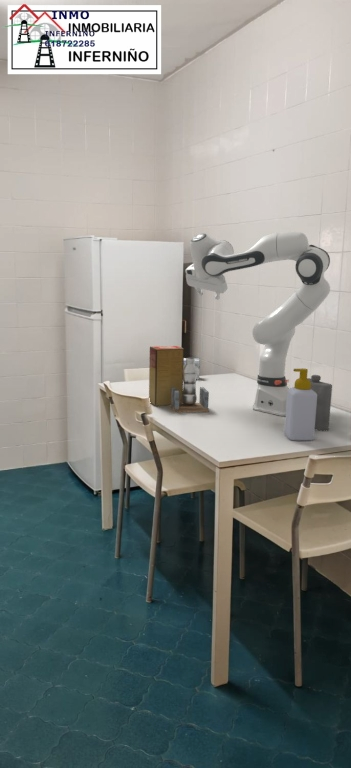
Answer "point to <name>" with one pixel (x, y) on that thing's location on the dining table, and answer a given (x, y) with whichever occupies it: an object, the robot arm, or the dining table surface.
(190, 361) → the plastic bottle
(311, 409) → the soap bottle
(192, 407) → the bookend shelf
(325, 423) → the flask
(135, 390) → the dining table surface
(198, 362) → the light bulb box
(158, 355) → the food packaging
